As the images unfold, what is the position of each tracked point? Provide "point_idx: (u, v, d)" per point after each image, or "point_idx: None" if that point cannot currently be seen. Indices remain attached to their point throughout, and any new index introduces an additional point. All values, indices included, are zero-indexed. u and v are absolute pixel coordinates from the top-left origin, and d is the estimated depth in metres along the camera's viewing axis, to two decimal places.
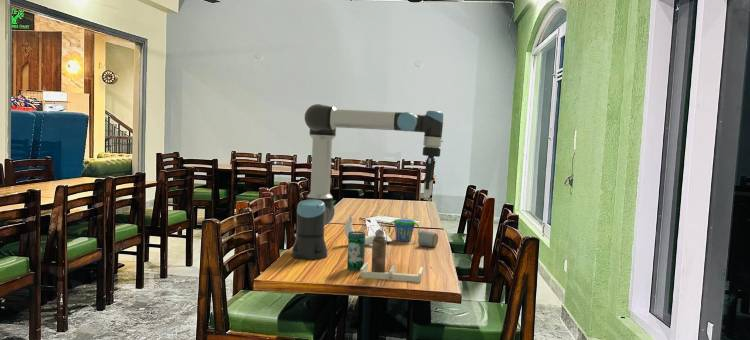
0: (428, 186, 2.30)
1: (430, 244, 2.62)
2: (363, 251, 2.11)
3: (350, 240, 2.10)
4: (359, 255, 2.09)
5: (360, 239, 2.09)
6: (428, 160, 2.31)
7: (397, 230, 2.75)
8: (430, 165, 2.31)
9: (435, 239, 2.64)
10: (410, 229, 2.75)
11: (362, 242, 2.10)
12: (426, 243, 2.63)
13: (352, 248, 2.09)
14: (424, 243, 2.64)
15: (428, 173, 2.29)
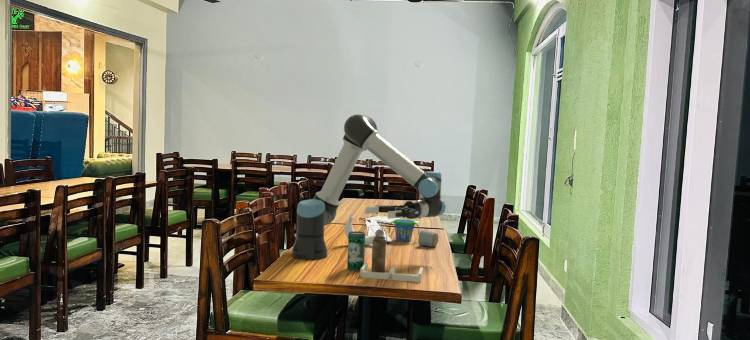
0: (400, 216, 2.14)
1: (430, 244, 2.63)
2: (363, 251, 2.11)
3: (350, 240, 2.09)
4: (359, 255, 2.09)
5: (360, 239, 2.09)
6: (417, 211, 2.22)
7: (397, 230, 2.75)
8: (414, 214, 2.21)
9: (435, 239, 2.64)
10: (410, 229, 2.75)
11: (362, 242, 2.10)
12: (426, 243, 2.63)
13: (352, 248, 2.09)
14: (424, 243, 2.64)
15: (411, 214, 2.17)
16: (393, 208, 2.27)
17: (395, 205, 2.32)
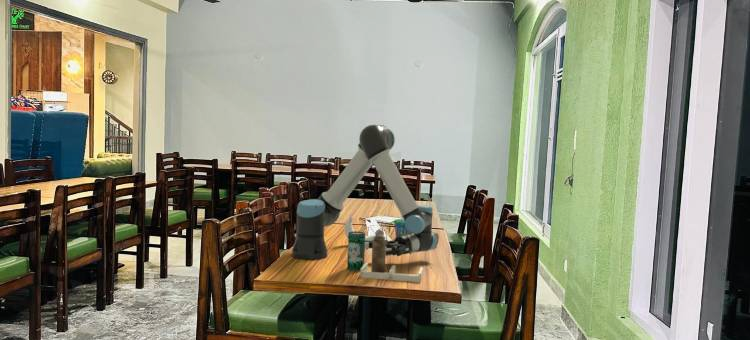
0: (390, 254, 2.11)
1: None
2: (363, 251, 2.11)
3: (350, 240, 2.10)
4: (359, 255, 2.09)
5: (360, 239, 2.09)
6: (407, 247, 2.19)
7: (397, 230, 2.75)
8: (404, 251, 2.18)
9: (436, 239, 2.64)
10: None
11: (362, 242, 2.10)
12: None
13: (352, 248, 2.09)
14: None
15: (401, 252, 2.14)
16: None
17: None
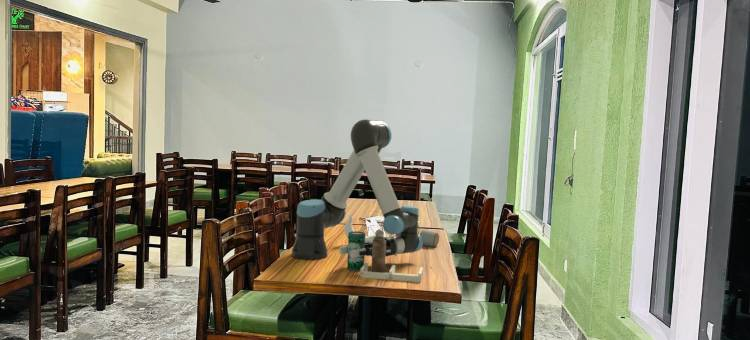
0: (363, 254, 2.08)
1: (431, 244, 2.64)
2: None
3: (350, 240, 2.10)
4: None
5: (360, 239, 2.09)
6: (388, 249, 2.14)
7: None
8: None
9: (436, 239, 2.65)
10: None
11: (362, 242, 2.10)
12: (427, 243, 2.64)
13: (352, 248, 2.09)
14: (425, 243, 2.65)
15: None
16: (369, 246, 2.18)
17: (368, 242, 2.23)
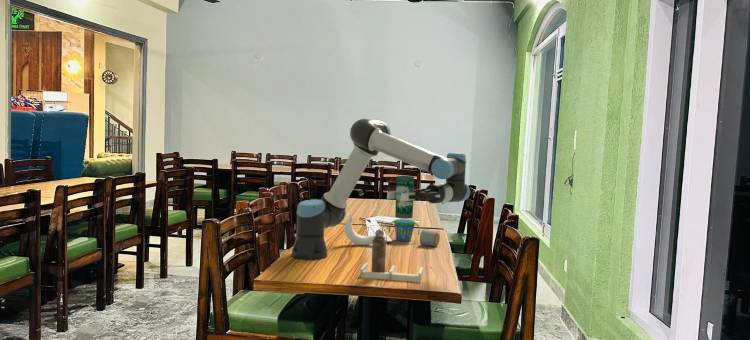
0: (413, 198, 1.97)
1: (432, 243, 2.64)
2: None
3: (399, 184, 1.99)
4: None
5: (409, 182, 1.99)
6: (438, 194, 2.04)
7: (397, 230, 2.75)
8: (433, 197, 2.03)
9: (436, 238, 2.65)
10: (410, 229, 2.75)
11: (411, 186, 1.99)
12: (428, 242, 2.65)
13: (401, 192, 1.99)
14: (426, 242, 2.66)
15: (427, 197, 2.00)
16: None
17: (415, 189, 2.13)
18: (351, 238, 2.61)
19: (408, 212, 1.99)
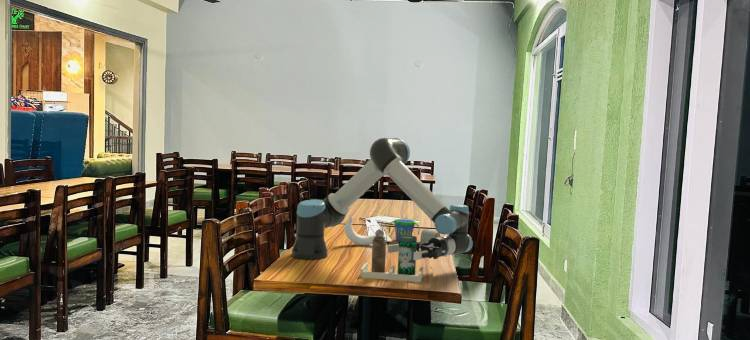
0: (426, 257, 1.97)
1: None
2: None
3: (401, 244, 2.00)
4: (411, 260, 2.00)
5: (412, 243, 1.99)
6: (444, 250, 2.05)
7: (397, 230, 2.75)
8: (441, 253, 2.03)
9: None
10: (410, 229, 2.75)
11: (414, 247, 2.00)
12: None
13: (403, 253, 1.99)
14: None
15: (438, 254, 2.00)
16: (417, 246, 2.10)
17: (419, 242, 2.15)
18: (351, 238, 2.61)
19: (410, 273, 2.00)
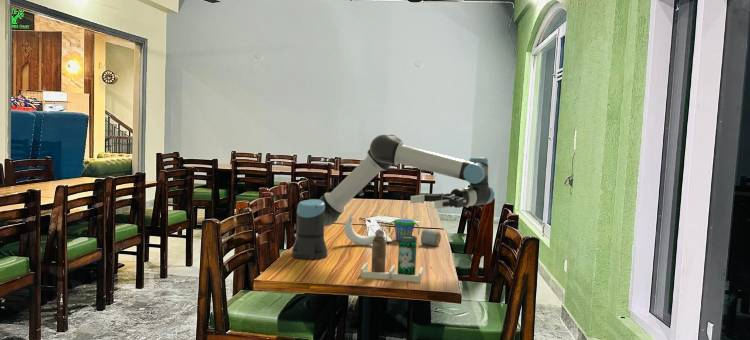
0: (447, 205, 2.04)
1: (433, 243, 2.66)
2: (415, 256, 2.01)
3: (401, 244, 2.00)
4: (411, 260, 2.00)
5: (412, 243, 1.99)
6: (465, 199, 2.12)
7: (397, 230, 2.75)
8: (462, 203, 2.11)
9: (438, 238, 2.67)
10: (410, 229, 2.75)
11: (414, 246, 2.00)
12: (429, 242, 2.66)
13: (403, 253, 1.99)
14: (427, 242, 2.67)
15: (459, 203, 2.07)
16: (439, 197, 2.18)
17: (441, 193, 2.22)
18: (351, 238, 2.61)
19: (410, 273, 2.00)
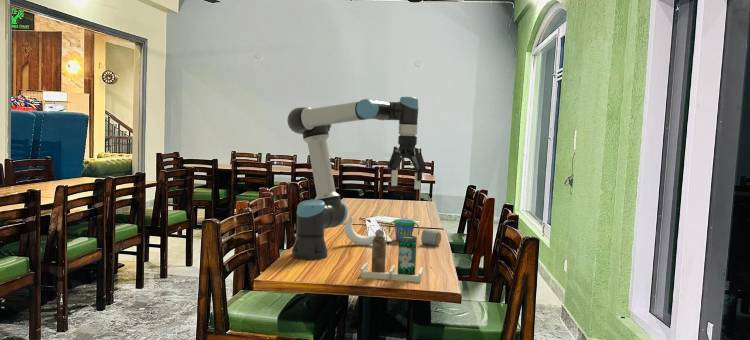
0: (421, 177, 2.19)
1: (433, 243, 2.66)
2: (415, 256, 2.01)
3: (401, 244, 2.00)
4: (411, 260, 2.00)
5: (412, 243, 1.99)
6: (418, 150, 2.19)
7: (397, 230, 2.75)
8: (420, 155, 2.19)
9: (438, 238, 2.67)
10: (410, 229, 2.75)
11: (414, 247, 2.00)
12: (429, 242, 2.67)
13: (403, 253, 1.99)
14: (427, 242, 2.67)
15: (422, 163, 2.18)
16: (400, 158, 2.27)
17: (394, 148, 2.28)
18: (351, 238, 2.61)
19: (410, 273, 2.00)
